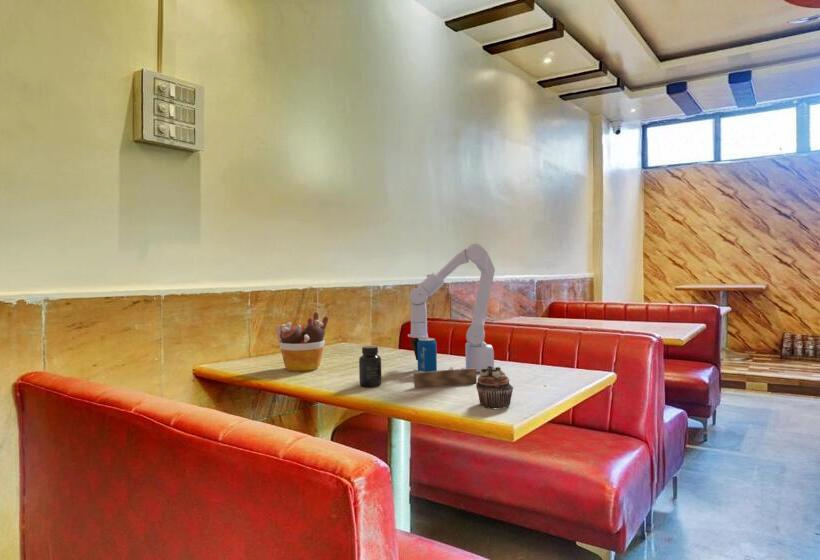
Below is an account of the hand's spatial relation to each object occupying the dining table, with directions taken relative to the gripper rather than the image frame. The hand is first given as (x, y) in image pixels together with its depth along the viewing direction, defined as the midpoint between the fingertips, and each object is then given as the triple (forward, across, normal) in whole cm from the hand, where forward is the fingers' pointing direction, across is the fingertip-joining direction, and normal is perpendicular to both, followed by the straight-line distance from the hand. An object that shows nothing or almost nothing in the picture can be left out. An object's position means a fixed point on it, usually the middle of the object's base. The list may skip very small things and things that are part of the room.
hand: (419, 360), depth 193 cm
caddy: (+3, +21, 0) cm, 21 cm away
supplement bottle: (+4, +19, -22) cm, 29 cm away
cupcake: (+4, +53, +4) cm, 53 cm away
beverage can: (+4, +9, 0) cm, 9 cm away
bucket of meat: (+4, -16, -39) cm, 42 cm away
